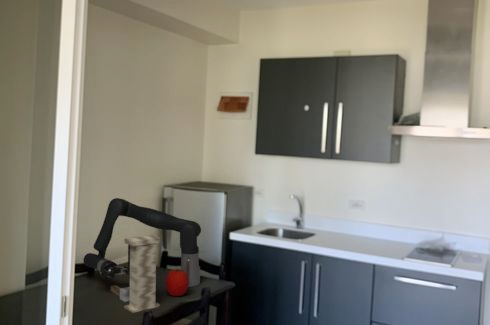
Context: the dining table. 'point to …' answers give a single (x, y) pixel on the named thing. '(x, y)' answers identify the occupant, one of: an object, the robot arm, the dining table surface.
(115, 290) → the mallet
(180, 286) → the tomato
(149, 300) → the birch plinth
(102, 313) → the dining table surface
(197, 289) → the dining table surface
